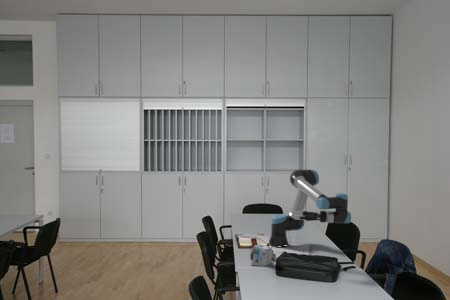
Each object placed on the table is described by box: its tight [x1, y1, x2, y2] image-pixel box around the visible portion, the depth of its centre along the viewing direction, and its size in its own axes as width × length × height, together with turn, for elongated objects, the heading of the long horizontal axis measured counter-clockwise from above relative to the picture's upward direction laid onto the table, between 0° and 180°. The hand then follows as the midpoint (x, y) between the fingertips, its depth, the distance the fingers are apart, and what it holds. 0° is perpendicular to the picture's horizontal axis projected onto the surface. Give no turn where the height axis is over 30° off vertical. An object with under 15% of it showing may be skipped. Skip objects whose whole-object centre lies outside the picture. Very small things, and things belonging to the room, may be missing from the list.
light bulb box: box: [253, 243, 273, 265], centre depth 230 cm, size 11×7×11 cm, turn 45°
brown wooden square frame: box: [250, 246, 274, 261], centre depth 245 cm, size 16×16×4 cm
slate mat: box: [250, 259, 274, 268], centre depth 230 cm, size 12×14×1 cm
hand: (293, 215), depth 233 cm, fingers open, 13 cm apart
